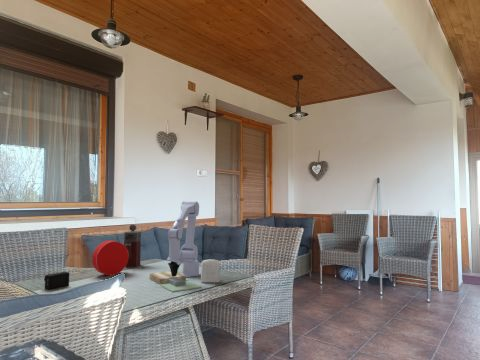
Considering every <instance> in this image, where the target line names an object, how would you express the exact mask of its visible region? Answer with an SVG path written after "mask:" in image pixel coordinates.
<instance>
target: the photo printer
mask: <svg viewBox="0 0 480 360" xmlns="http://www.w3.org/2000/svg"><path fill="white" fill-rule="evenodd" d="M220 267H221V264H220V261H219V260H217V259H213V258H212V259H211V258H208V259H204V260H202V261H201V268H200V282H201V283H220V280H221V279H220V272H221V271H220V269H221V268H220Z"/></svg>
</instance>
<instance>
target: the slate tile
mask: <svg viewBox="0 0 480 360" xmlns="http://www.w3.org/2000/svg"><path fill="white" fill-rule="evenodd" d="M186 281H187V280H186ZM186 281H185V280H183V279H180V278H173V279H168V283H169V284H171V285H173V286H181V285H186Z"/></svg>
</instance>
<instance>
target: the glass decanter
mask: <svg viewBox="0 0 480 360" xmlns="http://www.w3.org/2000/svg"><path fill="white" fill-rule="evenodd" d="M141 242H142V231H141V230H137V226H136V224H134V223H133V224H130V225H129V230H127V231H125V232H124V236H123V244H124V245H125V246H126V248H127V250H128V254H129V258H128V262H127V265H126V266H125V268H138V267H140V266H141V247H142V246H141V245H142V243H141Z"/></svg>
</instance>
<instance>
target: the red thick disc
mask: <svg viewBox="0 0 480 360" xmlns="http://www.w3.org/2000/svg"><path fill="white" fill-rule="evenodd" d="M128 258H129V254H128V250H127V248H126V246H125V245H124V243H122V242H120V241H116V240H105V241H103V242H101V243H99V244H98V245H97V247H95V249H94V251H93V253H92V259H91V260H92V261H91V263H92V265H93V267H94V269H95V271H97V272H98V273H99V274H103V275H105V276H114V275H113V274H116V275H118V274H120V273H121V272H123V270H124V269H125V268H126V267H125V266H126V265H127V262H128Z"/></svg>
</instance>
